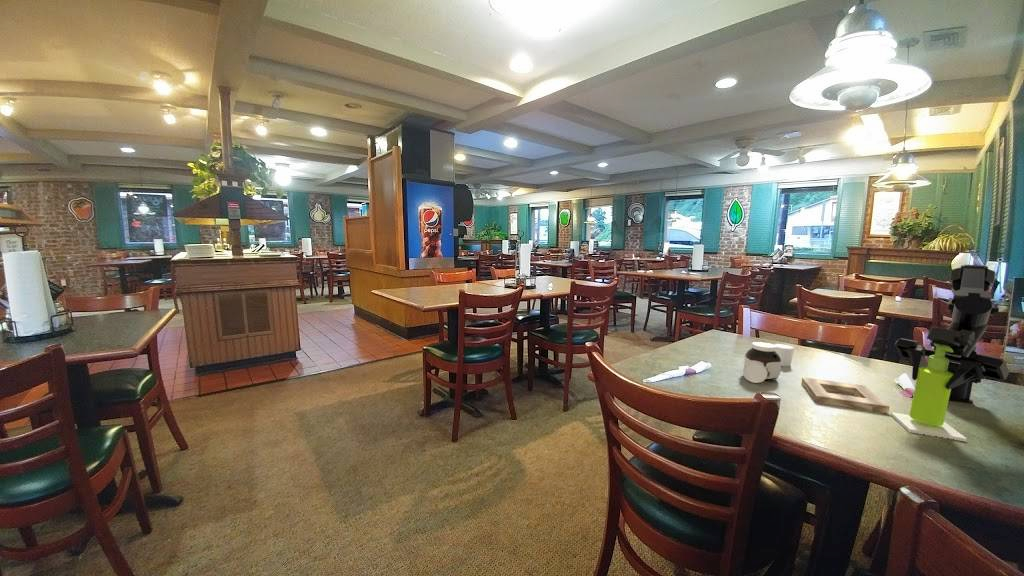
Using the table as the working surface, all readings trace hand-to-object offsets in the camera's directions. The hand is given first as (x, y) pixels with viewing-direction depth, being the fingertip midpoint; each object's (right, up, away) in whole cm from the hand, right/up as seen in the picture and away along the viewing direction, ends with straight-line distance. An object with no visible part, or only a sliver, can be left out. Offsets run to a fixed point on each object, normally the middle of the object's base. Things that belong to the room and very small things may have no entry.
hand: (929, 383), depth 94 cm
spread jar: (-20, -7, +34) cm, 40 cm away
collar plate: (-5, -9, +20) cm, 23 cm away
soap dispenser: (+1, -10, +2) cm, 10 cm away
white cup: (-2, -5, +49) cm, 50 cm away
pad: (+1, -12, +2) cm, 12 cm away
